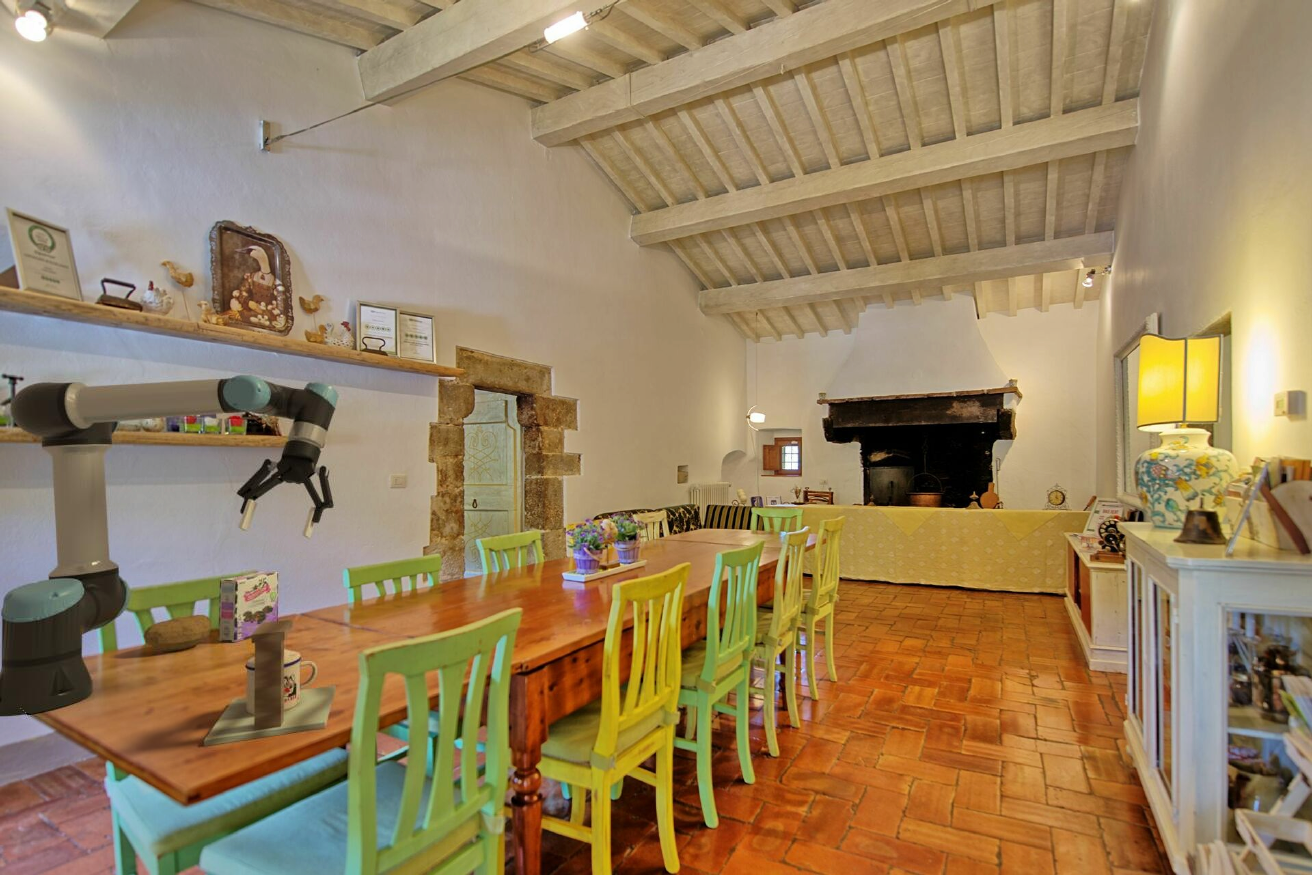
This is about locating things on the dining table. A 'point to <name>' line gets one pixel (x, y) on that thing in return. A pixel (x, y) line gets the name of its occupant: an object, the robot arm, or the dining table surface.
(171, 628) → the potato
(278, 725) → the stand
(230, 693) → the dining table surface
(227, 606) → the candy box
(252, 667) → the teacup with lid
